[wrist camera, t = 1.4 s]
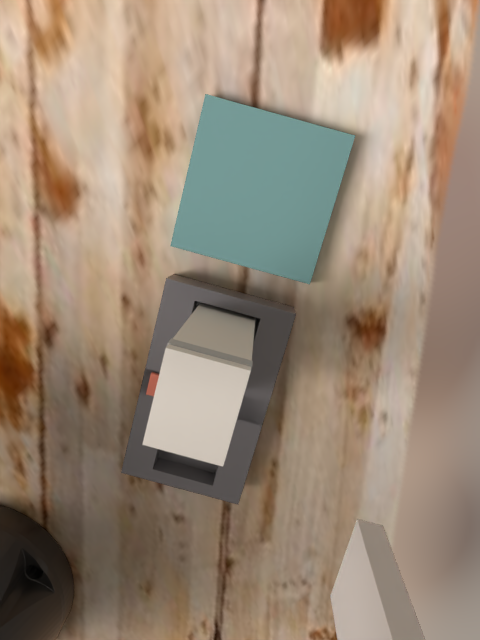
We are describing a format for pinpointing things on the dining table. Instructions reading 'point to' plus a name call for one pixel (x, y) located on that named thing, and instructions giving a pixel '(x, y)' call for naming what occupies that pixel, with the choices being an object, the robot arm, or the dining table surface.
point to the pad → (260, 189)
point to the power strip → (267, 359)
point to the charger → (202, 385)
